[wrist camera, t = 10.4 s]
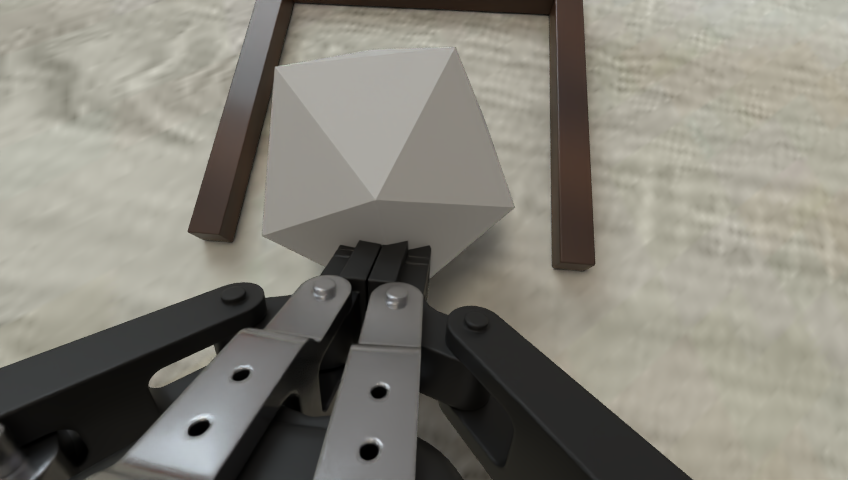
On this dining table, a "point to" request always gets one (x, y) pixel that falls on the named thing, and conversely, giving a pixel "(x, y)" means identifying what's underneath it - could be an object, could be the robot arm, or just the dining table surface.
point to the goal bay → (562, 4)
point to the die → (380, 155)
